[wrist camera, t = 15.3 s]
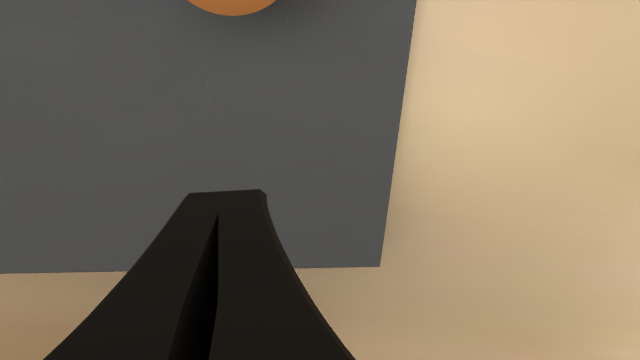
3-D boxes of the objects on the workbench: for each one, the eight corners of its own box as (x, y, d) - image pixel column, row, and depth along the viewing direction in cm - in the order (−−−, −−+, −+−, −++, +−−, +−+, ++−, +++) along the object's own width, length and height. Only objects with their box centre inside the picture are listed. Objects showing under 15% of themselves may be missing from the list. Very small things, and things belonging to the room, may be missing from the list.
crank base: (-96, 254, 21) (-118, 279, 20) (-350, -301, 12) (-415, -315, 11) (374, 246, 23) (380, 270, 21) (437, -246, 14) (453, -252, 13)
